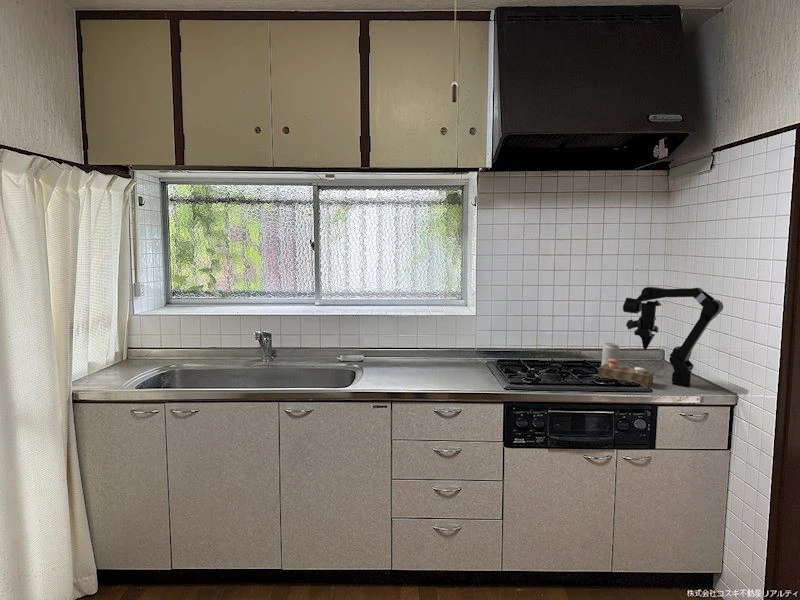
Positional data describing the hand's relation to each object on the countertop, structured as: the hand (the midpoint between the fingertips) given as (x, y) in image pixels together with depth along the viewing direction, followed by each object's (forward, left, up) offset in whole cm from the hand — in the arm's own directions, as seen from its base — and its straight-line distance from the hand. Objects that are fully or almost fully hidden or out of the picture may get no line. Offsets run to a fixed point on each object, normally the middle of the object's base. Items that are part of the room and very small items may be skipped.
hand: (644, 349), depth 231 cm
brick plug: (+9, +14, -10) cm, 20 cm away
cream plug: (-2, +14, -12) cm, 19 cm away
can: (+16, -6, -13) cm, 21 cm away
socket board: (+4, +14, -12) cm, 19 cm away
